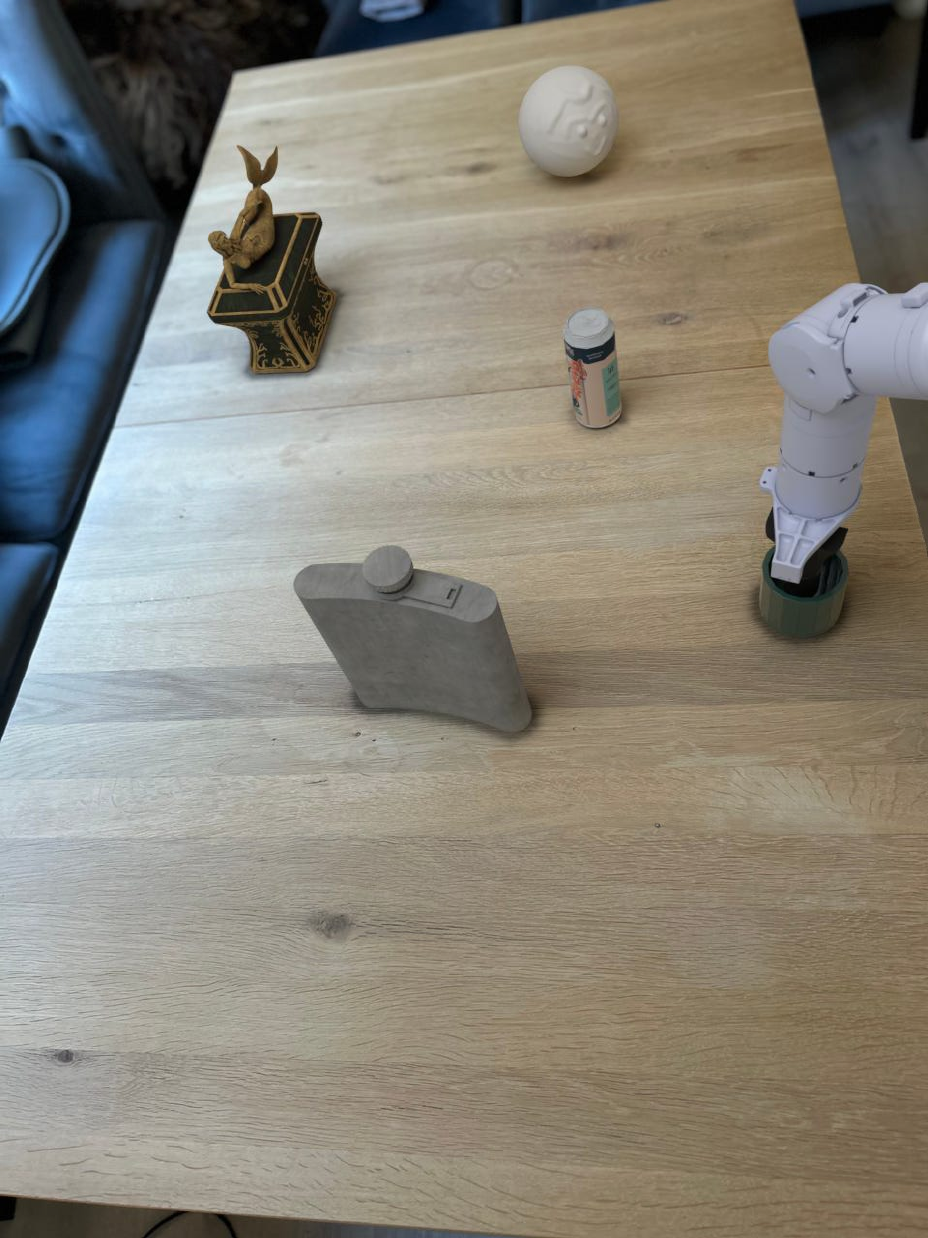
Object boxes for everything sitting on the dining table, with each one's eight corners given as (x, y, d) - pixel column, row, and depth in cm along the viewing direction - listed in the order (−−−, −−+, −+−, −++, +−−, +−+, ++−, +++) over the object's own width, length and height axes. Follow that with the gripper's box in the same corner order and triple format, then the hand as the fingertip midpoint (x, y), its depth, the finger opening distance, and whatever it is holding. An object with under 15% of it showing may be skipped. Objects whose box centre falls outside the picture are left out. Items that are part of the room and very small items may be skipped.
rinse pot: (850, 585, 85) (858, 547, 80) (827, 648, 82) (835, 612, 77) (772, 565, 87) (776, 527, 83) (748, 625, 84) (751, 589, 80)
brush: (822, 577, 82) (832, 526, 76) (813, 604, 81) (821, 554, 75) (789, 568, 83) (795, 517, 78) (778, 595, 82) (784, 544, 76)
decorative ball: (559, 210, 120) (547, 116, 110) (508, 168, 127) (492, 76, 117) (641, 165, 122) (636, 69, 112) (586, 126, 128) (576, 32, 118)
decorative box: (318, 382, 112) (253, 233, 96) (240, 385, 114) (164, 240, 98) (355, 265, 122) (302, 112, 106) (283, 270, 125) (220, 121, 108)
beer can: (577, 397, 103) (563, 305, 93) (623, 395, 102) (615, 302, 92) (573, 432, 100) (559, 341, 90) (621, 430, 99) (612, 338, 89)
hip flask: (354, 705, 88) (274, 576, 72) (369, 666, 90) (295, 531, 73) (526, 736, 83) (483, 605, 67) (538, 693, 85) (499, 556, 68)
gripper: (796, 362, 73) (783, 482, 84) (731, 511, 67) (726, 619, 78) (896, 380, 70) (870, 502, 81) (838, 537, 64) (818, 645, 75)
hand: (805, 561), depth 79 cm, fingers closed on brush
